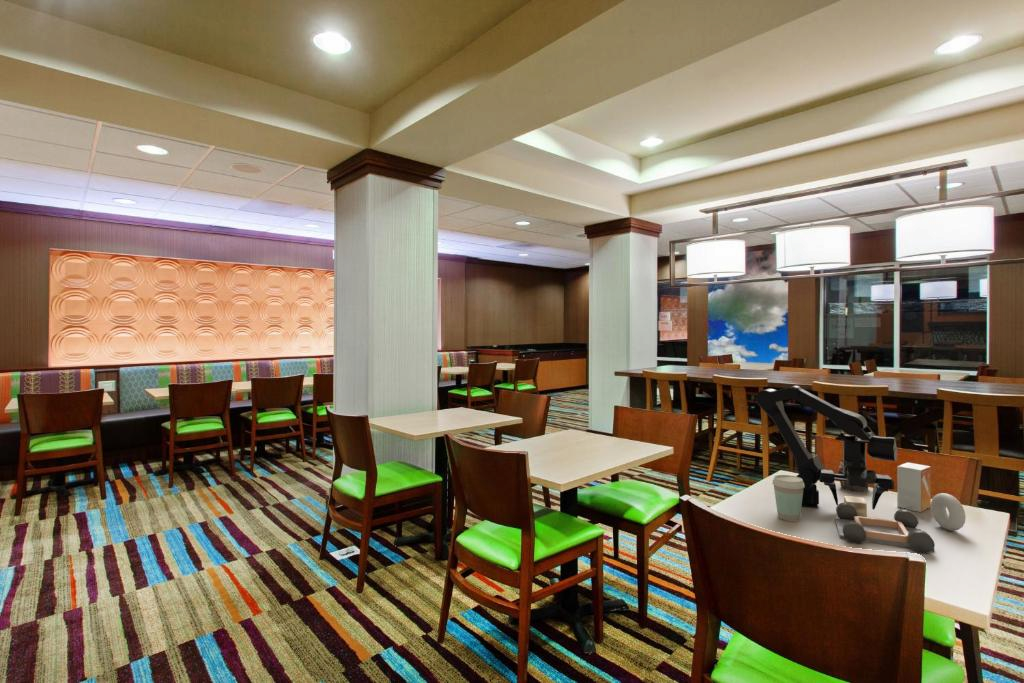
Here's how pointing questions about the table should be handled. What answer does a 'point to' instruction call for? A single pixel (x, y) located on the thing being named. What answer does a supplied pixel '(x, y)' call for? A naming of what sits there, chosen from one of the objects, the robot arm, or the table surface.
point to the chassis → (883, 529)
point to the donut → (954, 508)
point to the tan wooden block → (857, 505)
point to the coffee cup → (788, 496)
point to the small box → (914, 486)
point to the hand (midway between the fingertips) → (854, 507)
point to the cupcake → (845, 485)
